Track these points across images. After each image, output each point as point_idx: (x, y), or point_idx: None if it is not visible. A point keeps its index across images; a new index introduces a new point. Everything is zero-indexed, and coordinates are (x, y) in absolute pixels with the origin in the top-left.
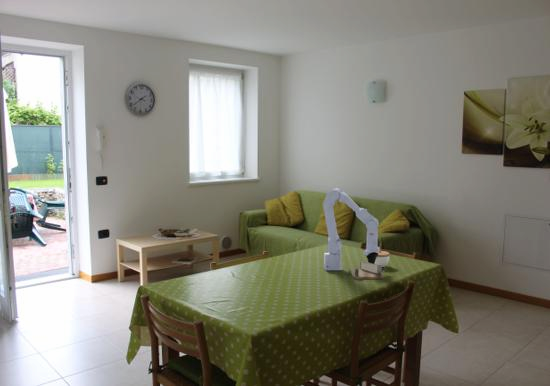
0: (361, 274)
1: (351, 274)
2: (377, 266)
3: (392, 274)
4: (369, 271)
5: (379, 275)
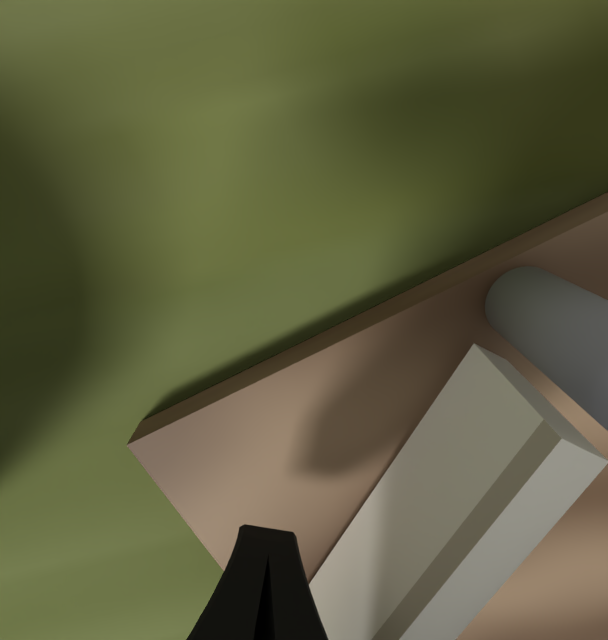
0: (603, 556)
1: None
2: (572, 435)
3: (198, 86)
4: (363, 502)
5: (582, 283)
